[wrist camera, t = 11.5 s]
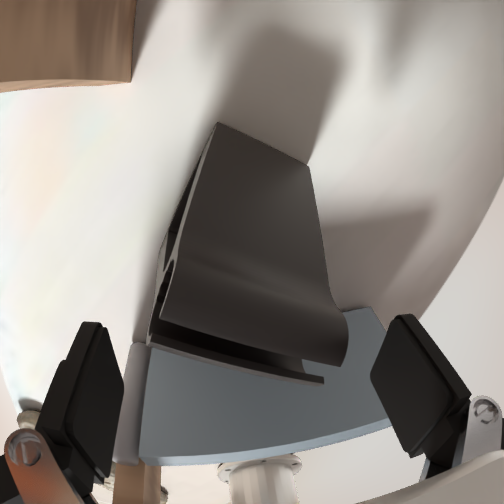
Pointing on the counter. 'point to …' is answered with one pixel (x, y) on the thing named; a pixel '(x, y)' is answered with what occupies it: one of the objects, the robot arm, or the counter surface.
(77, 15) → the brown wooden blocks
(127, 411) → the blue rectangular panel
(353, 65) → the counter surface
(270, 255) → the phone stand
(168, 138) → the counter surface
